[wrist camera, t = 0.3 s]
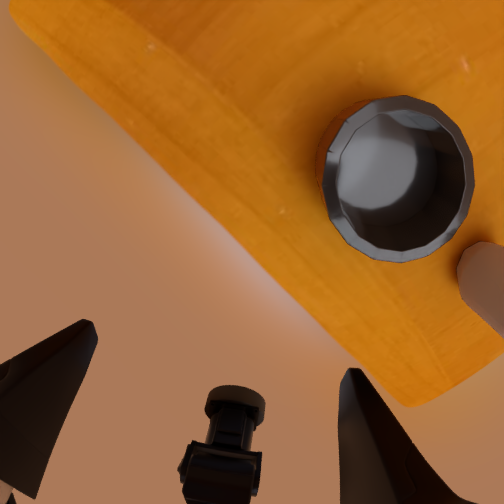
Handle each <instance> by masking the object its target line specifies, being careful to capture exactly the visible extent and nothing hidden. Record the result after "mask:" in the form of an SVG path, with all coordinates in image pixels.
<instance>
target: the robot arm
mask: <svg viewBox="0 0 504 504" xmlns="http://www.w3.org/2000/svg"><path fill="white" fill-rule="evenodd" d="M97 342H98V336H97V333H96V330H95V327H94V324H93V322H91V321H89V320H86V319H81V320H79V321H77V322H76V323H74V324H72V325H70V326H68V327H67V328H65V329H63V330H61V331H59V332H58V333H56V334H54V335H52V336H50V337H49V338H47V339H45V340H43V341H41V342H39V343H38V344H36V345H34V346H33V347H30V348H29V349H27V350H25V351H23V352H22V353H20V354H18V355H16V356H14V357H13V358H12V359H9V360H7V361H6V362H4V363H2V364H0V504H16V501H15V499H14V495H13V493H12V490H13V488H15V489H17V490H18V491H20V492H22V493H23V494H25V495H27V496H29V497H31V498H32V499H35V498H36V496H37V493H38V490H39V487H40V484H41V481H42V478H43V475H44V472H45V469H46V467H47V464H48V461H49V460H48V459H49V458H50V455H51V453H52V450H53V448H54V445H55V443H56V440H57V438H58V435H59V433H60V430H61V428H62V426H63V423H64V421H65V419H66V416H67V414H68V412H69V409H70V407H71V405H72V403H73V401H74V398H75V396H76V394H77V392H78V390H79V388H80V386H81V383H82V381H83V379H84V377H85V374H86V372H87V369H88V367H89V364H90V361H91V358H92V355H93V353H94V350H95V348H96V345H97ZM339 393H340V394H339V413H338V441H339V465H340V504H477V503H474V502H470V501H467V500H465V499H462V498H460V497H459V496H457V495H456V494H455V493H454V492H453V491H452V490H451V489H450V488H449V487H448V486H447V484H445V482H444V481H443V480H442V479H441V478H440V476H438V474H437V473H436V472H435V471H434V470H433V469H432V467H431V466H430V465H429V464H428V463H427V461H426V460H425V459H424V457H423V456H422V455H421V453H420V452H419V450H418V449H417V447H416V446H415V445H414V443H412V440H411V439H410V437H409V436H408V435H407V433H406V432H405V430H404V429H403V427H402V426H401V425H400V423H399V422H398V420H397V419H396V417H395V416H394V415H393V413H392V412H391V411H390V409H389V408H388V406H387V405H386V403H385V402H384V401H383V399H382V398H381V396H380V395H379V393H378V392H377V391H376V389H375V388H374V386H373V385H372V384H371V382H370V381H369V379H368V378H367V377H366V375H365V374H364V373H363V371H362V370H361V369H359V368H349V369H348V370H347V371H346V373H345V375H344V377H343V379H342V381H341V383H340V391H339ZM259 412H260V408H259V407H256V406H248V405H241V404H235V403H228V402H222V401H217V400H210V401H209V415H210V425H209V429H208V433H207V437H206V441H205V443H200V442H197V441H194V440H192V442H191V444H188V446H187V449H186V453H185V455H184V458H183V459H182V461H181V463H180V465H179V466H178V470H177V471H178V472H179V474H180V482H181V483H182V484H183V488H182V493H183V495H184V498H185V500H186V503H187V504H250V500H251V496H254V497H256V496H257V492H258V488H259V481H260V473H261V461H262V452H252V451H250V449H251V443H252V436H253V431H255V430H256V427H257V422H258V417H259Z"/></svg>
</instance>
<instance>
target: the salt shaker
mask: <svg viewBox="0 0 504 504" xmlns="http://www.w3.org/2000/svg"><path fill="white" fill-rule="evenodd" d="M456 270H457V277H458V284H459V290H460V295H461V297H462V299H463V300H464V302H465V303H466V304H467V305H468V306H469V307H470V308H471V309H472V310H473V311H475V312H476V313H477V314H478V315H479V316H480V317H481V318H482V319H484V320H485V321H486V322H487V323H488V324H489V325H490V326H491V327H492V328H493V329H494V330H495V331H496V332H498V333H499V334H500V335H501V336H502V337H503V338H504V247H503V246H501V245H498V244H495V243H490V242H482V241H479V242H478V243H476V244H474V245H472V246H471V247H469V248H467V249H465V250H464V252H463V254H462V257H461V259H460V261H459V264H458V266H457V268H456Z"/></svg>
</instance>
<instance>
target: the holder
mask: <svg viewBox="0 0 504 504" xmlns="http://www.w3.org/2000/svg"><path fill="white" fill-rule="evenodd" d="M315 166H316V168H315V174H316V177H317V182H318V186H319V189H320V193H321V197H322V200H323V203H324V205H325V208H326V211H327V214H328V216H329V219H330V221H331V222H332V223H333V225H334V226H335V227H336V229H337V230H338V231H339V233H340V234H341V236H342V237H343V238H344V240H345V241H346V243H347V244H349V245H350V246H352V247H353V248H355V249H357V250H358V251H360V252H362V253H363V254H365V255H367V256H368V257H370V258H372V259H374V260H381V261H389V262H396V263H404V262H407V261H411V260H415V259H419V258H422V257H426V256H428V255H430V254H431V253H433V252H434V251H435V250H437V249H438V248H440V247H441V246H442V245H444V244H445V243H446V242H448V241H449V240H450V239H451V238H452V237H453V236H454V234H455V233H456V231H457V230H458V228H459V227H460V225H461V224H462V222H463V221H464V219H465V218H466V216H467V214H468V210H469V207H470V203H471V199H472V195H473V191H474V187H475V180H474V168H473V158H472V154H471V151H470V149H469V147H468V145H467V143H466V140H465V138H464V136H463V134H462V132H461V130H460V128H459V127H458V125H457V124H456V123H455V122H453V121H452V120H451V119H450V118H449V117H448V116H447V115H446V114H445V113H444V112H443V111H442V110H440V109H439V108H438V107H437V106H435V105H434V104H431V103H429V102H426V101H423V100H420V99H416V98H413V97H410V96H407V95H401V96H391V97H383V98H377V99H371V100H365V101H359V102H356V103H354V104H353V105H351V106H349V107H348V108H346V109H344V110H343V111H342V112H340V113H339V114H338V115H337V116H336V117H334V119H333V120H332V121H331V122H330V124H329V125H328V126H327V128H326V129H325V131H324V133H323V135H322V137H321V139H320V142H319V145H318V149H317V154H316V165H315Z"/></svg>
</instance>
